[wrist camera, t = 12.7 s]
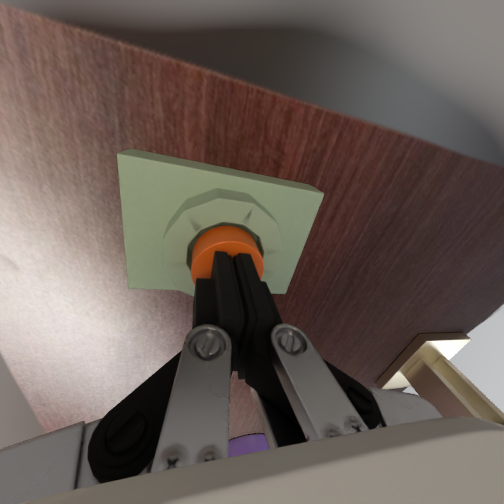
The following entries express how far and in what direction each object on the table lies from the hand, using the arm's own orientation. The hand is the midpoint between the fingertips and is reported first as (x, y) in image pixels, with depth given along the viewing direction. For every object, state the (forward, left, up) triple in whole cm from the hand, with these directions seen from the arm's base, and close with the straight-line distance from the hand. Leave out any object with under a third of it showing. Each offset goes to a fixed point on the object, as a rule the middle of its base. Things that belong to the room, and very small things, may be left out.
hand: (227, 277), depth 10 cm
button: (0, 0, -2) cm, 2 cm away
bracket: (-17, +34, -6) cm, 39 cm away
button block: (0, 0, -6) cm, 6 cm away
